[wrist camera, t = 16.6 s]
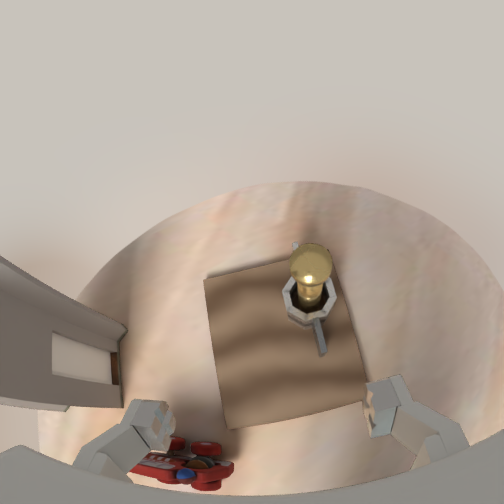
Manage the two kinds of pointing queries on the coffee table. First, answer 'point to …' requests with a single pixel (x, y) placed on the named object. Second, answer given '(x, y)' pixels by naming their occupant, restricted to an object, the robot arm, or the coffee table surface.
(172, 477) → the toy fire truck
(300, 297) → the hinge pin
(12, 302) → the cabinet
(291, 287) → the hinge
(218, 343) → the walnut board
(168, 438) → the robot arm
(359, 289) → the coffee table surface
